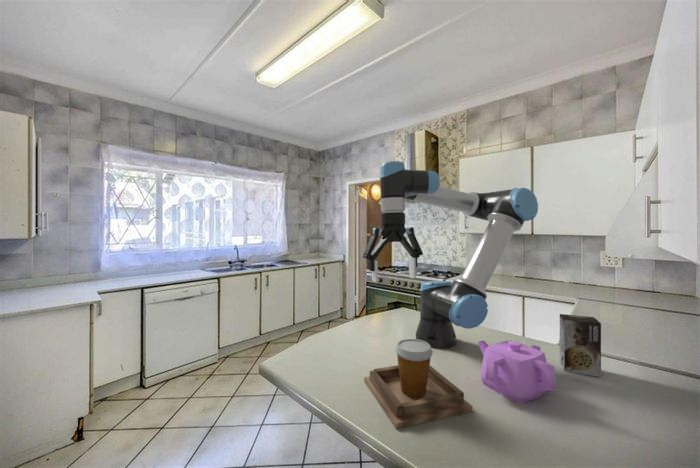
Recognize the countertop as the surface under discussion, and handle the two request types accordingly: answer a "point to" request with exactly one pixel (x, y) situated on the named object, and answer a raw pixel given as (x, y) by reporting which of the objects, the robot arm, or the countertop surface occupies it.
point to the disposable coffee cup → (413, 366)
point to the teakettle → (516, 370)
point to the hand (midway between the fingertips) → (394, 279)
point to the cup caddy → (410, 410)
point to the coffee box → (580, 344)
